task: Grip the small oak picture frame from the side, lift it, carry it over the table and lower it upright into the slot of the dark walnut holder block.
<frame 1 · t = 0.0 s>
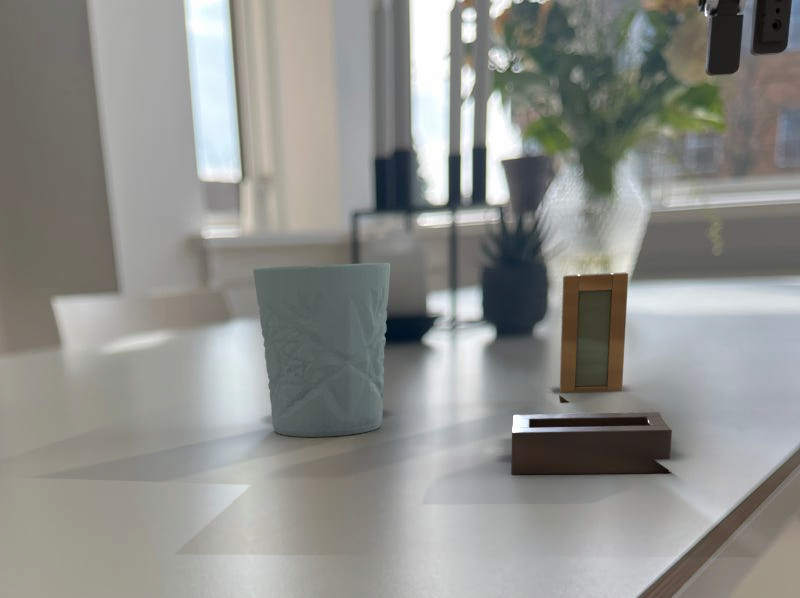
hand: (743, 65, 71), 23 cm above the table, tool pointing down, fingers open, 8 cm apart
pale blue-green cup: (329, 429, 81), on the table
holder: (586, 462, 63), on the table
frame: (589, 399, 87), on the table
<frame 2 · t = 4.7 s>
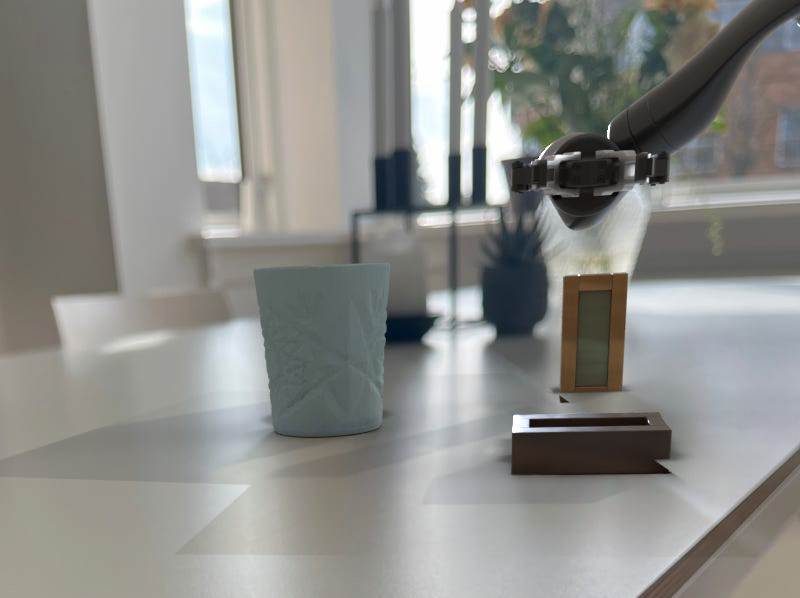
hand: (592, 169, 91), 18 cm above the table, tool horizontal, fingers open, 8 cm apart
nothing on the table moved.
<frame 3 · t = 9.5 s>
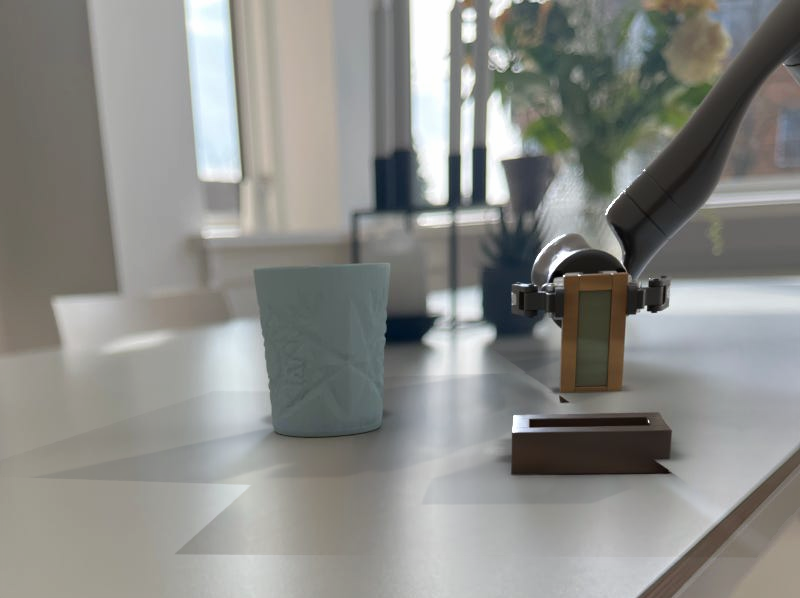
hand: (595, 302, 82), 8 cm above the table, tool horizontal, fingers closed on frame, 5 cm apart
frame: (589, 399, 87), on the table, touching gripper
everything else where it was.
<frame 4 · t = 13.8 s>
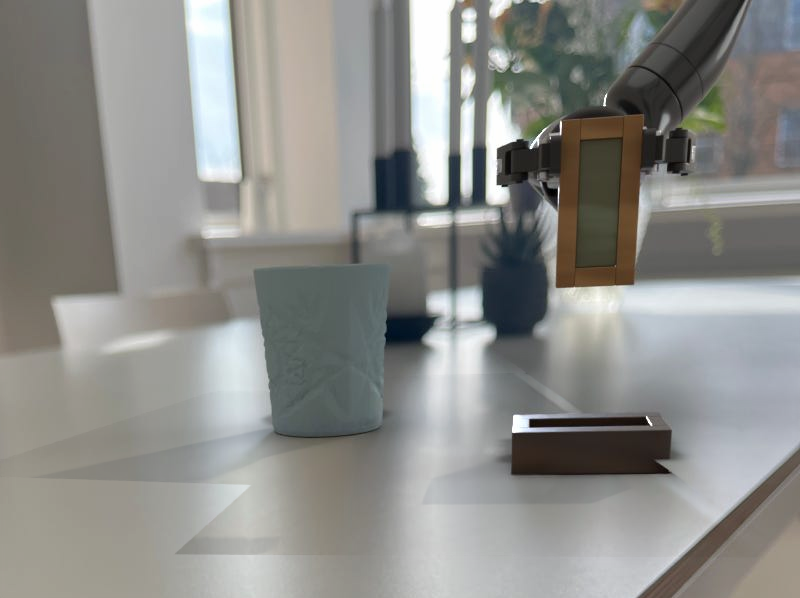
hand: (601, 151, 64), 18 cm above the table, tool horizontal, fingers closed on frame, 5 cm apart
frame: (593, 285, 69), point 10 cm above the table, touching gripper
everything else where it was.
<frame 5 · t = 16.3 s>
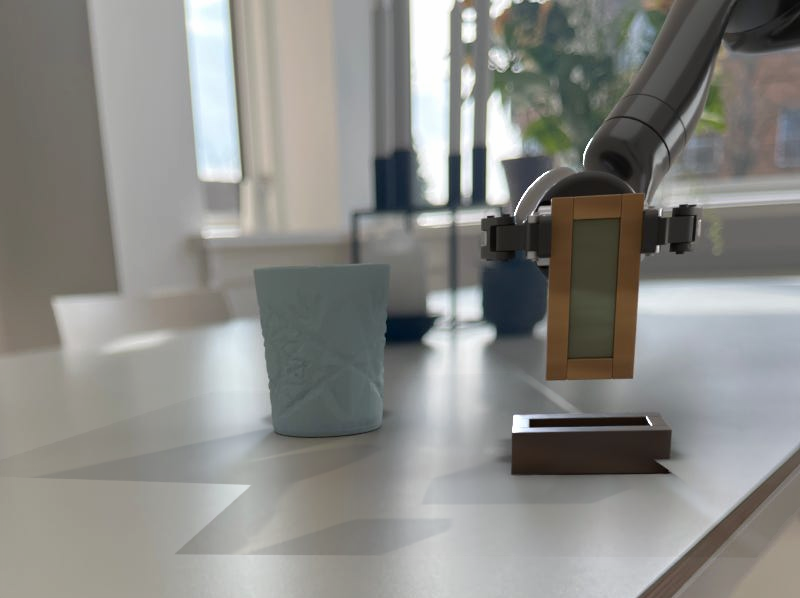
hand: (596, 234, 57), 13 cm above the table, tool horizontal, fingers closed on frame, 5 cm apart
frame: (588, 377, 62), point 5 cm above the table, touching gripper
everything else where it was.
when the fingers open (8 cm above the table, at t = 18.2 s): frame stays where it is, resting in holder.
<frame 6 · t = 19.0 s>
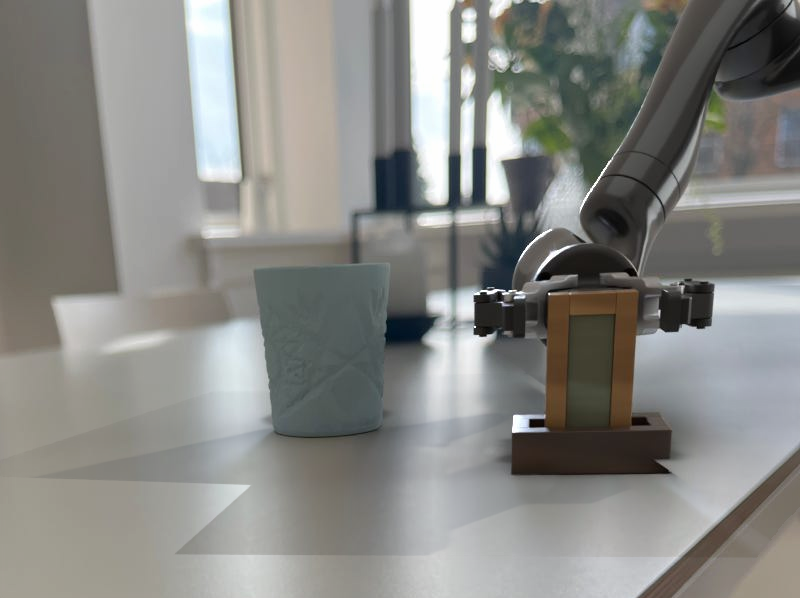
hand: (595, 315, 59), 9 cm above the table, tool horizontal, fingers open, 8 cm apart
frame: (585, 462, 64), resting in holder
everything else where it was.
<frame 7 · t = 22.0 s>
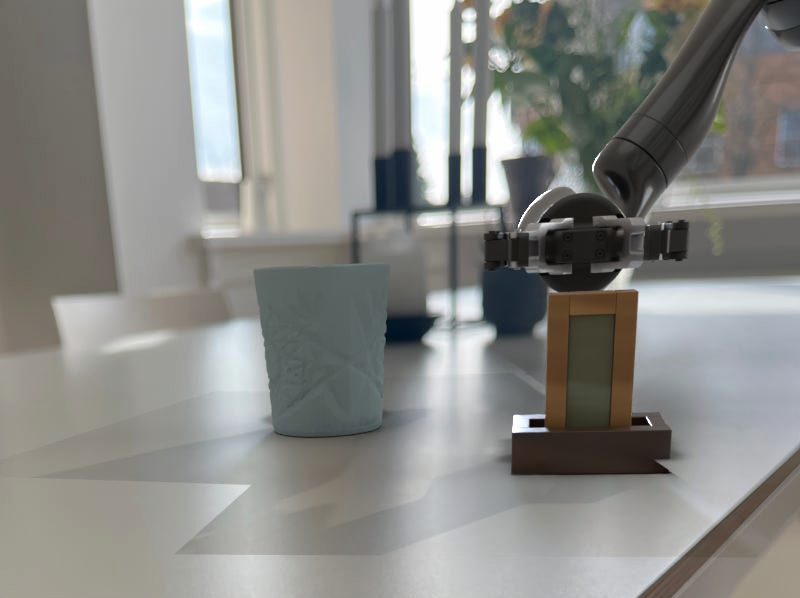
hand: (588, 246, 69), 12 cm above the table, tool horizontal, fingers open, 8 cm apart
nothing on the table moved.
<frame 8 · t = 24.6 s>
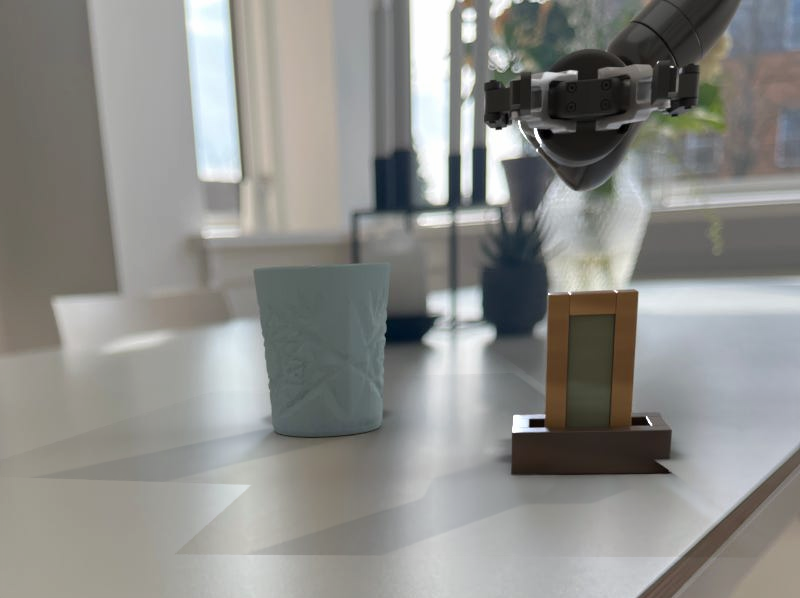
hand: (593, 84, 66), 22 cm above the table, tool horizontal, fingers open, 8 cm apart
nothing on the table moved.
at the end: frame 0.1 cm off-centre on the holder, point 0.0 cm above the holder's base; frame tilted 0°; the gripper is holding nothing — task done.
